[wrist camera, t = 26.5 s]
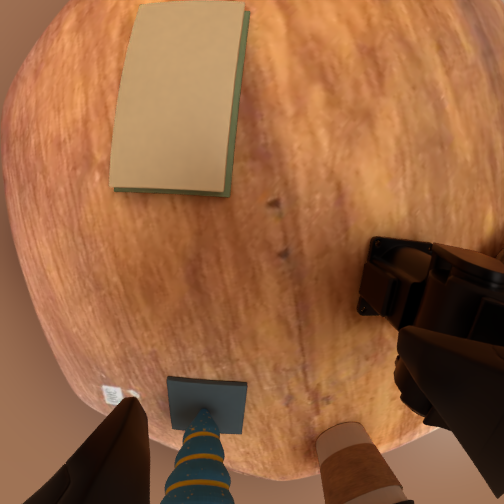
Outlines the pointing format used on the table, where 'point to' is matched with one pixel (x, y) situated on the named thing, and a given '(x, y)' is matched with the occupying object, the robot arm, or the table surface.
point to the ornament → (199, 467)
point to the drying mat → (207, 402)
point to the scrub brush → (180, 99)
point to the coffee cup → (355, 468)
